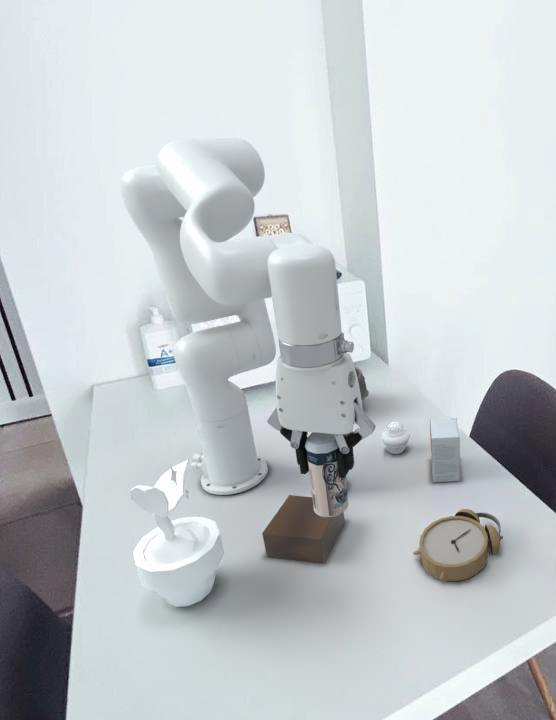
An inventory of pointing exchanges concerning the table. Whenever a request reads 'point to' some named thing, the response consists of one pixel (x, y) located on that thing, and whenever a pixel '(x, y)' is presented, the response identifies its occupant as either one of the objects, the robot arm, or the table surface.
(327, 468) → the beer can
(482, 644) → the table surface
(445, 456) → the small box
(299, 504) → the block
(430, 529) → the alarm clock
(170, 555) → the potted plant
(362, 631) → the table surface
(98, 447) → the table surface
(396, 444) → the muffin
